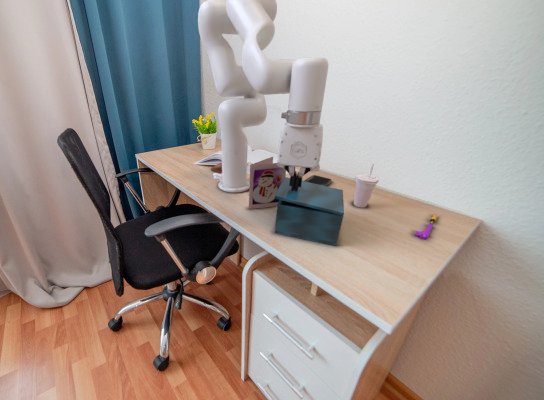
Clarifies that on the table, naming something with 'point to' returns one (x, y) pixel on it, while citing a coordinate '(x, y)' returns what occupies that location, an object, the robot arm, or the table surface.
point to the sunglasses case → (217, 168)
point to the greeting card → (264, 183)
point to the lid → (313, 196)
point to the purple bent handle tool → (428, 229)
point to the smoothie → (364, 188)
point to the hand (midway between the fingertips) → (294, 188)
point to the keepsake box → (307, 223)
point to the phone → (318, 180)
